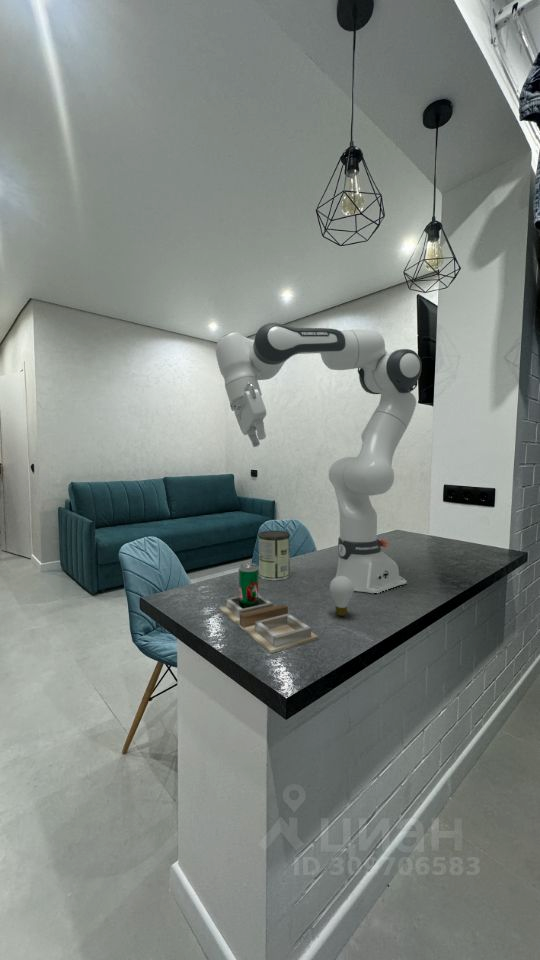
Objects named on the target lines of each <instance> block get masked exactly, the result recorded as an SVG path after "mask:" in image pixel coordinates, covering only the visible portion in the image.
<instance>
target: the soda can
mask: <svg viewBox="0 0 540 960" xmlns="http://www.w3.org/2000/svg"><path fill="white" fill-rule="evenodd" d="M239 566H240V567H239V568H238V596H239V606H240V607H241V608H242V609H244V608H249V607H253V606H257V605H259V595H260V594H259V593H260V592H259V591H260V590H259V589H260V587H259V586H260V585H259V580H260V577H259V567H258V564H256V563H253V562H246V563H241V564H240V565H239Z"/></svg>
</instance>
